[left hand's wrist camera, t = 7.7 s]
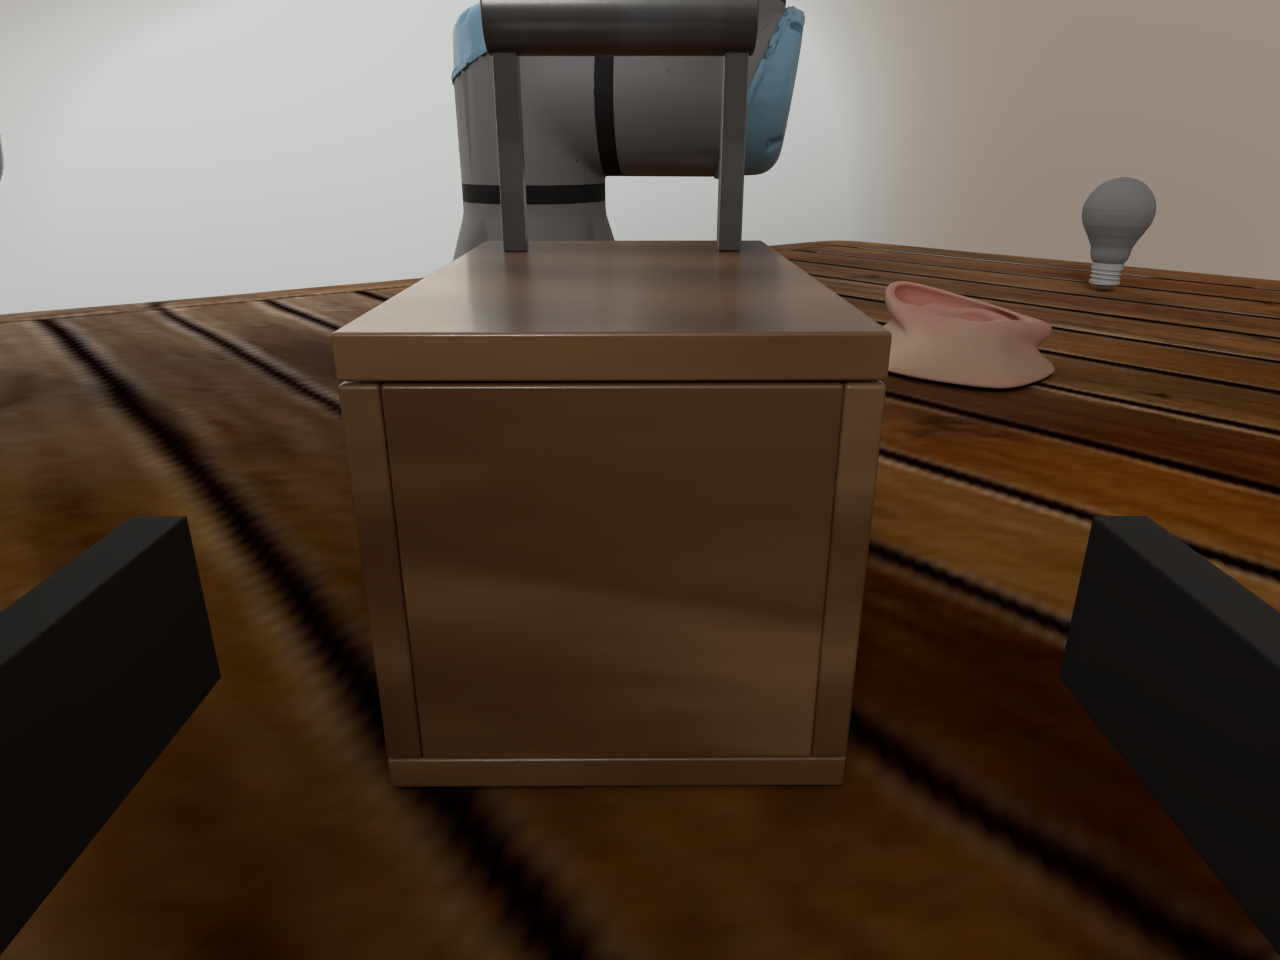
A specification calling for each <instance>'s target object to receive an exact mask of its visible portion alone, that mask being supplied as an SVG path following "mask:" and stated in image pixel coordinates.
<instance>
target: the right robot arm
mask: <svg viewBox="0 0 1280 960" xmlns="http://www.w3.org/2000/svg"><path fill="white" fill-rule="evenodd" d="M785 5H786V0H760V8H759V24H758V34H757V41H756V47H755V51H754V53H753V55H752V56H749V66H748V90H747V114H746V138H745V162H744V175H757V174H761V173H764V172H766V171H768V170H769V169H770V168H772V167H773V165H774V164H775V163H776V162H777V160H778V158H779V155H780V152H781V148H782V144H783V140H784V135H785V130H786V125H787V120H788V115H789V110H790V105H791V99H792V94H793V89H794V83H795V78H796V72H797V66H798V60H799V54H800V48H801V41H802V33H803V26H804V21H805V15H804V13H803V11H801V10H799V9H796V8H795V7H794V6H792V7H788V8H785ZM519 57H520V78H521V100H522V121H523V142H524V164H525V185H526V206H527V228H528V241H614V238H613V234H612V231H611V228H610V225H609V222H608V219H607V216H606V209H605V177H606V176H714V178H716V179H719V156H720V124H721V92H722V60H723V56H519ZM453 60H454V70H453V72H452V84H453V85H454V89H455V102H456V114H457V127H458V139H459V152H460V165H461V178H462V190H463V205H464V214H463V220H462V225H461V229H460V233H459V238H458V242H457V246H456V250H455V255H454V259H453V261H454V260H456V259H457V258H459V257H461V256H462V255H464V254H466V253H467V252H469V251H471V250H472V249H474V248H476V247H477V246H479V245H481V244H482V243H484V242H486V241H503V234H502V216H501V199H500V181H499V164H498V147H497V129H496V112H495V94H494V77H493V59H492V56H490V55H488V53H487V50H486V47H485V43H484V38H483V31H482V23H481V11H480V3H478V4H476V5H474V6H472V7H470V8H468V9H467V10H466V11H464V12H463V13H462V14H461V15H460V16H459V18H458V19H457V21H456V23H455V25H454V29H453Z"/></svg>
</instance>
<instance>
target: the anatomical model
mask: <svg viewBox="0 0 1280 960" xmlns="http://www.w3.org/2000/svg"><path fill="white" fill-rule="evenodd" d="M885 301H886V305H887V308H888V310H889V312H890V313H891V315H892V319H891V320H890V321H889V323H887V324H886V325H884V326H883V327H884V328H885V329H887V330H888V331H890V332H891V334H892V340H891V349H890V358H889V368H888V371H889V372H892V373H896V374H900V375H905V376H909V377H914V378H920V379H925V380H931V381H937V382H944V383H950V384H957V385H964V386H972V387H981V388H995V389H1004V388H1015V387H1020V386H1024V385H1027V384H1030V383H1033V382H1036V381H1039V380H1042V379H1044V378H1046V377H1047V376H1049V375H1051V374H1052V373H1053V372H1054V371H1055V368H1054V366H1053V365H1052V363H1051V362H1049V361H1048V360H1047V359H1046V358H1045V357H1044V356H1043V355H1042V354H1041V353H1040V352H1039V351H1038V349H1037V347H1038V346H1039V345H1040V344H1041V343H1042V342H1044V341H1045V340H1047V339H1048V338H1049V337H1050V335H1051V332H1052V327H1051V325H1050V324H1049V323H1046V322H1044V321H1041V320H1038V319H1035V318H1032V317H1029V316H1025V315H1022V314H1019V313H1016V312H1013V311H1010V310H1007V309H1005V308H1002V307H999V306H996V305H992V304H989V303H986V302H982V301H979V300H975V299H971V298H968V297H965V296H961V295H958V294H954V293H951V292H947V291H944V290H940V289H937V288H933V287H929V286H926V285H922V284H917V283H912V282H904V281H899V282H894V283H891V284H890V285H889V286H888V287H887V288H886V291H885Z"/></svg>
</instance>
